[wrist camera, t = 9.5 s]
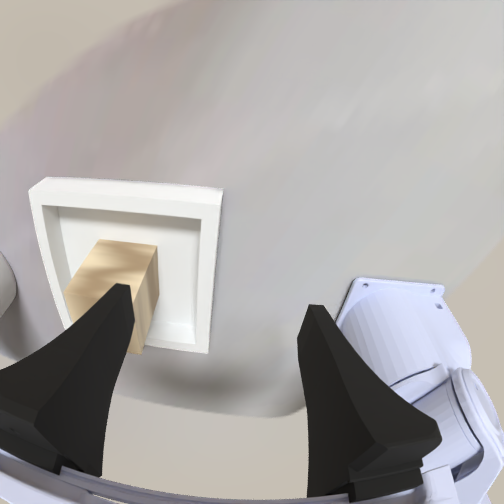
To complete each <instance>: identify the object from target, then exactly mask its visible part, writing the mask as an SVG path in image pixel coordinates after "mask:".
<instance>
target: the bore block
mask: <svg viewBox="0 0 504 504" xmlns="http://www.w3.org/2000/svg"><path fill="white" fill-rule="evenodd" d="M116 283H120V284H127V285H130V288H131V296H132V303H133V310H134V316H135V324H134V328H133V333H132V337H131V341H130V344H129V347H128V349H127V352H128V353H134V354H140V355H141V354H142V350H143V347H144V343H145V340H146V337H147V333H148V330H149V327H150V323H151V320H152V317H153V314H154V310H155V307H156V304H157V301H158V298H159V295H160V294H159V276H158V252H157V245H148V244H140V243H131V242H122V241H113V240H104V239H99V240H98V241H97V243H96V244H95V246H94V247H93V248H92V250H91V251H90V253H89V254H88V256H87V257H86V258H85V260H84V261H83V263H82V264H81V266H80V267H79V269H78V270H77V272H76V273H75V275H74V276H73V278H72V279H71V281H70V282H69V284H68V286H67V287H66V289H65V290H64V292H63V293H64V297H65V300H66V303H67V306H68V309H69V313H70V316H71V319H72V322H73V323H75V322H76V321H77V320H78V319H79V318H80V317H81V316H82V315H83V314H85V313H86V312H87V311H88V310H89V309H90V308H91V307H92V306H93V305H94V304H95V303H96V302H97V301H98V300H99V299H100V298H101V297H102V296H103V295H104V294H105V293H106V292H107V291H108V290H109V289H110V288H111V287H112V286H113V285H114V284H116Z"/></svg>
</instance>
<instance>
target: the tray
mask: <svg viewBox="0 0 504 504" xmlns="http://www.w3.org/2000/svg"><path fill="white" fill-rule="evenodd" d="M223 190H224V189H222V188H213V187H203V186H193V185H183V184H172V183H160V182H147V181H133V180H118V179H100V178H78V177H46V178H44V179H43V180H42V181H40V182H39V183H37V184H36V185H35V186H33V187H32V188H31V189H29V190H28V192H29V198H30V204H31V209H32V215H33V220H34V225H35V230H36V234H37V239H38V243H39V247H40V251H41V255H42V259H43V263H44V267H45V270H46V274H47V277H48V281H49V284H50V287H51V290H52V294H53V297H54V300H55V303H56V306H57V309H58V312H59V315H60V317H61V320H62V323H63V326H64V328H65V329H66V330H67V329H68V328H69V327H70V326H71V325H72V324H73V322H72V319H71V316H70V313H69V309H68V306H67V303H66V300H65V297H64V293H63V292H64V290H65V289H66V287H67V286H68V284H69V282H70V281H71V279H72V278H73V276H74V275H75V273H76V272H77V270H78V269H79V267H80V266H81V264H82V263H83V261H84V260H85V258H86V257H87V256H88V254H89V253H90V251H91V250H92V248H93V247H94V246H95V244H96V243H97V241H98V240H99V239H104V240H113V241H122V242H131V243H140V244H148V245H157V252H158V276H159V294H160V295H159V298H158V301H157V304H156V307H155V310H154V314H153V317H152V320H151V323H150V327H149V330H148V333H147V337H146V340H145V343H144V345H148V346H154V347H161V348H168V349H175V350H182V351H190V352H199V353H207V354H208V349H209V340H210V331H211V317H212V305H213V292H214V281H215V269H216V258H217V248H218V237H219V227H220V218H221V208H222V199H223Z"/></svg>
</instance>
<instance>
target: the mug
mask: <svg viewBox="0 0 504 504" xmlns="http://www.w3.org/2000/svg"><path fill="white" fill-rule="evenodd" d="M15 295H16V280H15V277H14V274H13V271H12V269H11V267H10V265H9V263H8V262H7V260H6V259H5V257H4V256H3V254H2V253H1V252H0V318H1V317H2V315H3V314H4V313H5V311H6V310H7V308H8V307H9V306H10V304H11V303H12V301H13V300H14V298H15Z"/></svg>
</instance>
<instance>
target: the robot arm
mask: <svg viewBox="0 0 504 504" xmlns="http://www.w3.org/2000/svg"><path fill="white" fill-rule="evenodd" d="M365 283H367V284H366V285H363V284H365ZM444 291H445V288H444V286H443V285H438V284H426V283H415V282H404V281H393V280H382V279H371V278H356V279H355V280H354V281H353V283H352V286H351V288H350V291H349V293H348V295H347V298H346V300H345V303H344V305H343V307H342V310H341V312H340V314H339V316H338V319H337V321H336V323H335V322H334V320H333V319H332V317H331V316H330V314H329V313H328V311H327V310H326V308H325V307H324V306H323V305H311V304H309V306H308V309H307V312H306V315H305V318H304V320H303V323H302V326H301V329H300V332H299V334H298V337H297V345H298V361H299V367H300V373H301V378H302V384H303V389H304V395H305V401H306V407H307V415H308V440H309V467H308V468H309V469H308V487H307V498H299V499H281V500H280V499H279V500H237V499H219V498H206V497H195V496H187V495H179V494H172V493H166V492H160V491H153V490H149V489H144V488H139V487H133V486H130V485H125V484H121V483H117V482H113V481H109V480H105V479H102V478H99V477H100V476H102V463H103V462H102V461H103V449H104V440H105V432H106V425H107V419H108V413H109V407H110V403H111V397H112V393H113V390H114V386H115V383H116V380H117V377H118V375H119V372H120V369H121V366H122V363H123V361H124V358H125V355H126V352H127V349H128V347H129V344H130V341H131V337H132V333H133V328H134V324H135V316H134V310H133V303H132V296H131V288H130V285H127V284H120V283H116V284H114V285H113V286H112V287H111V288H110V289H109V290H108V291H107V292H106V293H105V294H104V295H103V296H102V297H101V298H100V299H99V300H98V301H97V302H96V303H95V304H94V305H93V306H92V307H91V308H90V309H89V310H88V311H87V312H86V313H85V314H83V315H82V316H81V317H80V318H79V319H78V320H77V321H76V322H75V323H73V324H72V325H71V326H70V327H69V328H68V329H67V330H65V331H64V332H63V333H62V334H60V335H59V336H58V337H56V338H55V339H54V340H52V341H51V342H50V343H48V344H47V345H45V346H44V347H42V348H41V349H39V350H37V351H36V352H34V353H33V354H31V355H29V356H28V357H26V358H24V359H22V360H20V361H19V362H17V363H15V364H13V365H11V366H8V367H6V368H4V369H1V370H0V498H2V499H4V500H6V501H7V502H9V503H11V504H118V503H114V502H112V501H109V500H106V499H103V498H100V497H97V496H94V495H98V496H101V497H105V498H108V499H112V500H116V501H120V502H124V503H128V504H491V501H490V499H489V497H488V495H487V491H488V490H489V488H490V487H491V485H492V484H493V482H494V481H495V479H496V478H497V476H498V474H499V473H500V471H501V469H502V468H503V466H504V432H503V430H502V428H501V425H500V421H499V418H498V415H497V413H496V410H495V408H494V405H493V403H492V401H491V399H490V397H489V395H488V393H487V391H486V389H485V388H484V386H483V384H482V383H481V381H480V380H479V378H478V377H477V376H476V374H475V373H474V372H473V371H472V370H470V369H471V350H470V345H469V343H468V340H467V338H466V336H465V335H464V333H463V331H462V330H461V328H460V326H459V324H458V323H457V321H456V319H455V318H454V316H453V314H452V313H451V311H450V310H449V308H448V306H447V305H446V303H445V302H444V300H443V298H442V295H443V293H444ZM93 494H94V495H93Z"/></svg>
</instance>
